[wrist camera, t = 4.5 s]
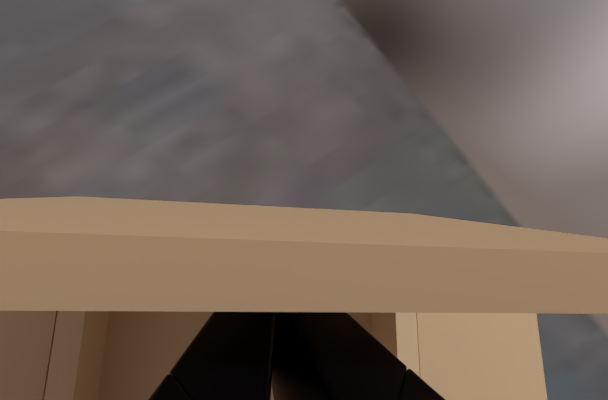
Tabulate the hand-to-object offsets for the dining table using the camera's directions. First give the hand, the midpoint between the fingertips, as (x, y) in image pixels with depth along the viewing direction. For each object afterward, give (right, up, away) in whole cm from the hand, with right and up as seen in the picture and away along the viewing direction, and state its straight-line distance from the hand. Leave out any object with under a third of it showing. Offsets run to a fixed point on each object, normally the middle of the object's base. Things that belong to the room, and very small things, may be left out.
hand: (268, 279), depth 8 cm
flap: (-1, +1, +6) cm, 6 cm away
